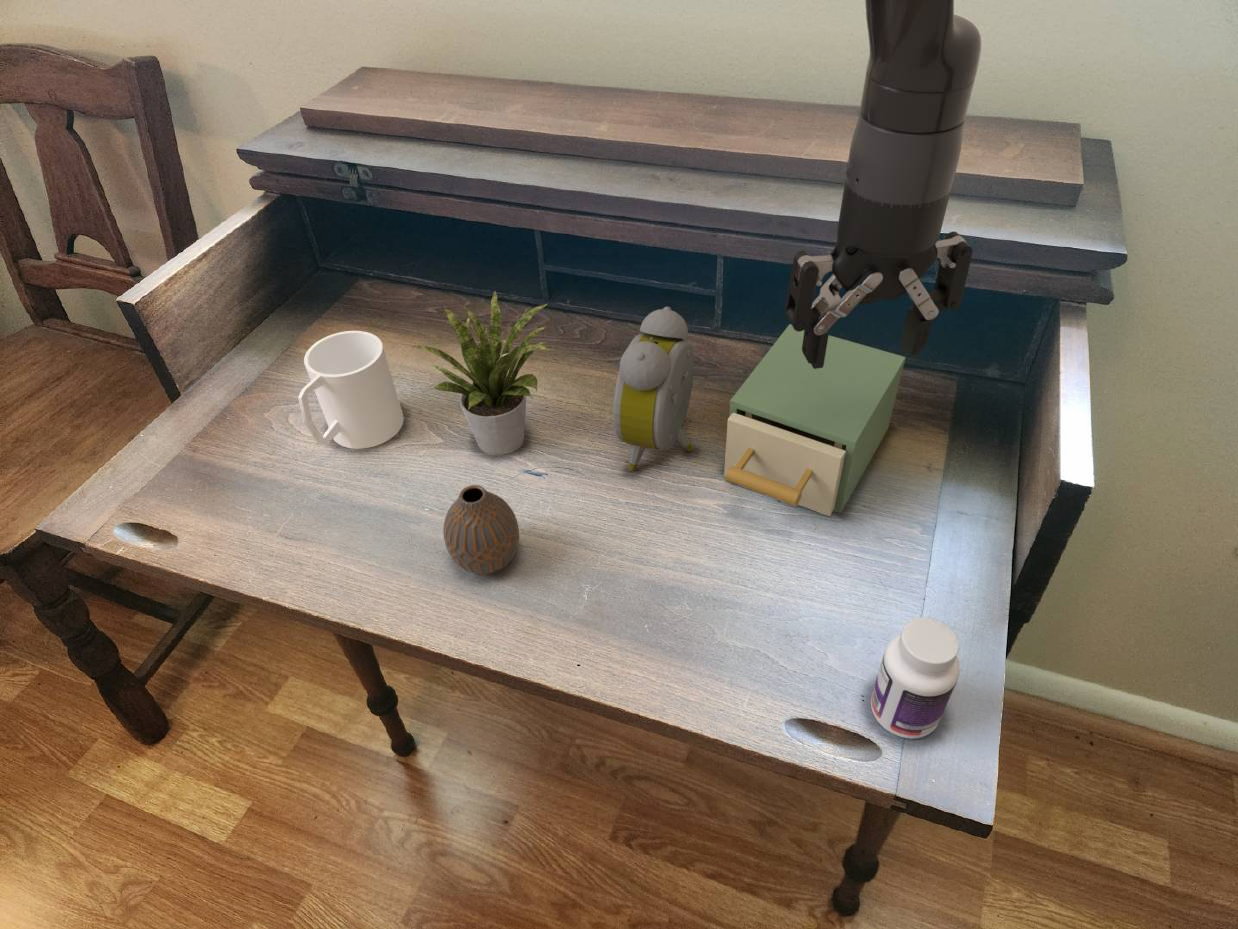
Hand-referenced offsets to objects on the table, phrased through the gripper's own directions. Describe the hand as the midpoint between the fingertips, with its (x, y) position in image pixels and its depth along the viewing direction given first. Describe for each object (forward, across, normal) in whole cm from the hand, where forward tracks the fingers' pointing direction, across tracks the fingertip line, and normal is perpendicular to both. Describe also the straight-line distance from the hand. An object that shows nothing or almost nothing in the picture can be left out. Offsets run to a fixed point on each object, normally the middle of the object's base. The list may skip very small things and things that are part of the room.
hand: (862, 356), depth 72 cm
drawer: (+16, -3, +4) cm, 17 cm away
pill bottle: (+18, -3, -24) cm, 30 cm away
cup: (+18, -48, +20) cm, 55 cm away
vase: (+18, -35, -1) cm, 39 cm away
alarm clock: (+18, -15, +11) cm, 26 cm away
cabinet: (+17, 0, +7) cm, 19 cm away
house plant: (+18, -31, +16) cm, 39 cm away
